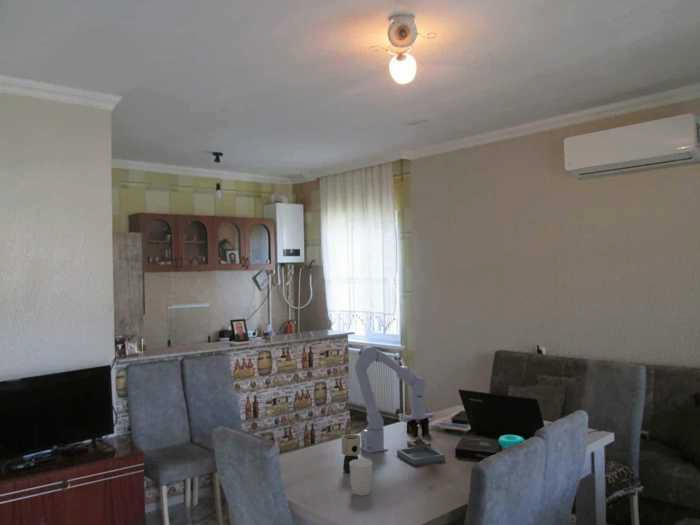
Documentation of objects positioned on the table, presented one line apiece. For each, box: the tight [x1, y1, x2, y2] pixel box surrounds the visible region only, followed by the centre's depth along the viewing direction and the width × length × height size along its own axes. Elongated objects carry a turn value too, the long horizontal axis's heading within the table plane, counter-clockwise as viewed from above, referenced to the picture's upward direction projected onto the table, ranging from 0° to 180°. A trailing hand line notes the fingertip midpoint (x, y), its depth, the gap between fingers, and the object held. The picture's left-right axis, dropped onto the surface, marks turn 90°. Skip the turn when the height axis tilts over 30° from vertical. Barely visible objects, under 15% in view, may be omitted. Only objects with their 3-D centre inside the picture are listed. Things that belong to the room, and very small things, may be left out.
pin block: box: [406, 438, 432, 448], centre depth 239 cm, size 8×8×2 cm
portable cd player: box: [454, 437, 503, 461], centre depth 229 cm, size 16×17×4 cm
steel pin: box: [414, 425, 423, 444], centre depth 239 cm, size 3×3×8 cm
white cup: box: [349, 458, 373, 496], centre depth 190 cm, size 8×8×10 cm
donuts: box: [498, 434, 526, 449], centre depth 216 cm, size 10×10×10 cm
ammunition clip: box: [406, 406, 430, 436], centre depth 259 cm, size 11×2×12 cm, turn 62°
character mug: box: [341, 434, 361, 473], centre depth 211 cm, size 11×7×13 cm, turn 145°
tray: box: [396, 445, 446, 467], centre depth 224 cm, size 14×14×2 cm
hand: (418, 436), depth 239 cm, fingers closed on steel pin, 3 cm apart
